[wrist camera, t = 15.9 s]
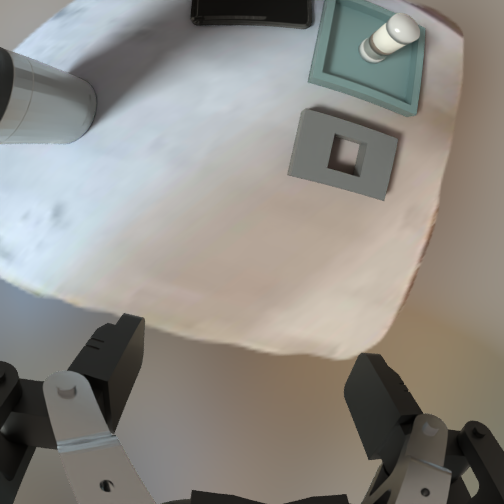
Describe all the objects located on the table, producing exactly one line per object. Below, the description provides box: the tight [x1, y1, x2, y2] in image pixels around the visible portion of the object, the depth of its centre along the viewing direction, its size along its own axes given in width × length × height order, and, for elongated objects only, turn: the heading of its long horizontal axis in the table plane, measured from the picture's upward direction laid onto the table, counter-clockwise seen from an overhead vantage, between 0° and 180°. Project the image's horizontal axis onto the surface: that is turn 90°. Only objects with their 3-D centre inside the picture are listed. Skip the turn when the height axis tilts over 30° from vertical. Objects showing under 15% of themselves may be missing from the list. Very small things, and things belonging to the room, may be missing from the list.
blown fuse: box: [358, 13, 420, 64], centre depth 26 cm, size 3×3×10 cm
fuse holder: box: [287, 109, 398, 201], centre depth 34 cm, size 12×8×2 cm, turn 78°
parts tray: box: [308, 0, 425, 117], centre depth 30 cm, size 14×14×2 cm
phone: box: [191, 0, 312, 29], centre depth 29 cm, size 8×1×15 cm
